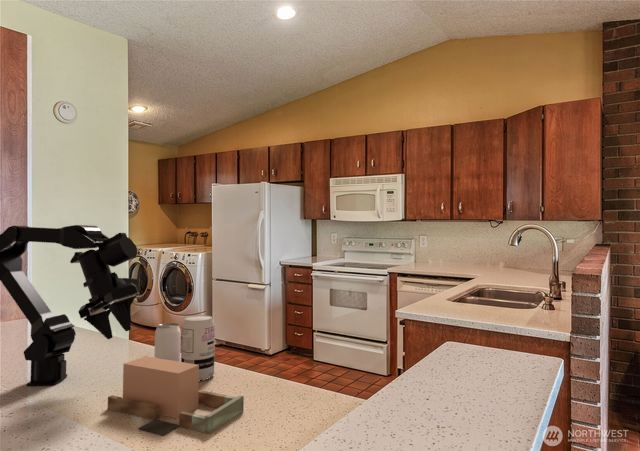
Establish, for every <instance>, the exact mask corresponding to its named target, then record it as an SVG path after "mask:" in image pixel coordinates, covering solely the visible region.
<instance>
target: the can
mask: <svg viewBox="0 0 640 451" xmlns="http://www.w3.org/2000/svg"><path fill="white" fill-rule="evenodd" d="M181 337H182V331H181V327H180V324H179V323H174V322H170V323H168V322H166V323H161V324H157V325H156V330H155V331H154V356H153V358H160V359H166V360H172V361H178V362H181Z"/></svg>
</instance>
